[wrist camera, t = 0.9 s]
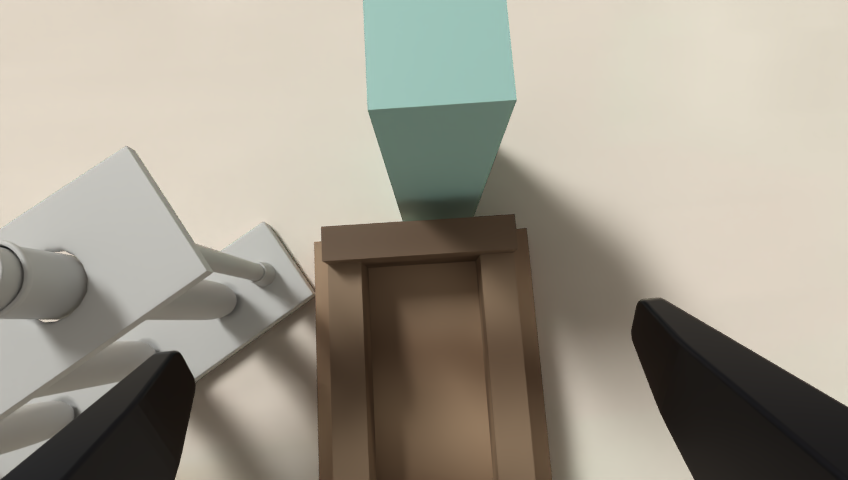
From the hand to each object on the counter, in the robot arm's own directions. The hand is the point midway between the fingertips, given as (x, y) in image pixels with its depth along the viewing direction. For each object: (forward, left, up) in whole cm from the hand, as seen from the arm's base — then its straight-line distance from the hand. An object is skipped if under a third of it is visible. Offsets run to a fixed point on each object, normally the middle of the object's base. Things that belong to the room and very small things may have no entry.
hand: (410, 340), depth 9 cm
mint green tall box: (+2, -8, -13) cm, 15 cm away
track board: (-1, +1, -13) cm, 13 cm away
